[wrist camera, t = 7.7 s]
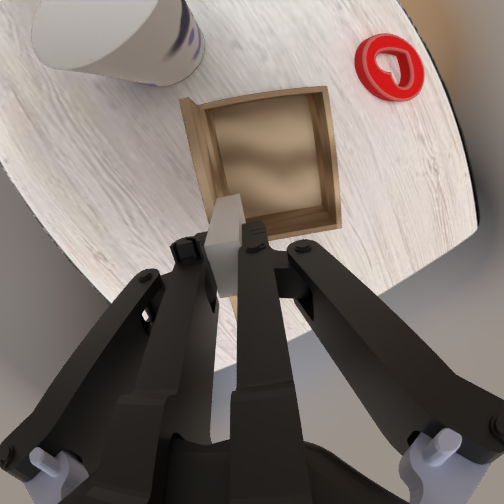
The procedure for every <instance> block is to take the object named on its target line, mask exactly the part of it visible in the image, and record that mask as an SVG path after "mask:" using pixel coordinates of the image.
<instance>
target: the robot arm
mask: <svg viewBox="0 0 504 504" xmlns="http://www.w3.org/2000/svg"><path fill="white" fill-rule="evenodd" d="M170 249H171V252H172V254H173V257H174V260H175V266H174V268H173V271H172V272H170V273H167V274H164V275H160V273H159V271H158V270H157V269H145V270H143V271H141V272H140V273H138V274H137V275H136V276H135V277H134V278H133V279H132V280H131V281H130V282H129V283H128V285H127V286H126V287H125V288H124V289H123V291H122V292H121V293H120V294H119V295H118V296H117V298H116V299H115V300H114V301H113V303H112V304H111V305H110V306H109V308H108V309H107V310H106V311H105V312H104V314H103V315H102V316H101V317H100V319H99V320H98V321H97V322H96V324H95V325H94V326H93V328H92V329H91V330H90V331H89V333H88V334H87V335H86V337H85V338H84V339H83V341H82V342H81V343H80V345H79V346H78V347H77V349H76V350H75V351H74V353H73V354H72V355H71V357H70V358H69V360H68V361H67V362H66V364H65V365H64V366H63V368H62V369H61V371H60V372H59V374H58V375H57V376H56V378H55V379H54V381H53V382H52V384H51V385H50V387H49V388H48V390H47V391H46V393H45V394H44V396H43V397H42V399H41V400H40V402H39V403H38V405H37V406H36V408H35V410H34V411H33V413H32V414H31V415H29V417H27V418H26V419H25V420H24V421H23V422H22V423H21V424H20V425H19V426H18V427H17V428H16V429H15V430H14V431H13V432H12V433H11V434H10V435H9V436H8V437H7V438H6V439H5V440H4V441H3V442H2V443H1V445H0V467H1V468H2V469H3V470H4V471H6V472H8V473H9V474H11V475H12V476H14V477H15V478H17V479H19V480H20V481H22V482H23V483H24V485H25V487H26V489H27V490H28V492H29V494H30V496H31V498H32V500H33V501H34V503H35V504H466V503H467V502H468V500H469V499H470V497H471V496H472V494H473V493H474V491H475V489H476V488H477V486H478V485H479V483H480V481H481V480H482V478H483V476H484V474H485V473H486V471H487V469H488V467H489V466H490V464H491V463H492V462H493V461H494V460H495V459H497V458H498V457H500V456H501V455H502V454H504V400H503V399H501V398H499V397H497V396H495V395H493V394H491V393H489V392H488V391H486V390H484V389H482V388H480V387H478V386H476V385H474V384H473V383H471V382H469V381H466V380H465V379H463V378H461V377H459V376H458V375H456V374H455V373H454V372H453V371H452V370H451V369H450V368H449V367H448V366H447V365H446V364H445V363H444V362H443V361H442V359H440V358H439V356H438V355H437V354H436V353H435V352H434V351H433V350H432V349H431V348H430V347H429V346H428V345H427V344H426V343H425V342H424V341H423V340H422V339H421V338H420V337H419V336H418V335H417V334H416V333H415V332H414V331H413V330H412V329H411V328H410V327H409V326H408V325H407V324H406V323H405V322H404V321H403V320H402V319H400V318H399V317H398V315H396V314H395V313H394V312H393V311H392V310H391V309H390V308H389V307H388V306H387V305H386V304H385V303H384V302H383V301H382V300H381V299H380V298H379V297H378V296H376V295H375V294H374V293H373V292H372V291H371V290H370V289H369V288H368V287H367V286H366V285H365V284H363V283H362V282H361V281H360V280H359V279H358V278H357V277H356V276H355V275H354V274H352V273H351V272H350V271H349V270H348V269H347V268H346V267H345V266H344V265H342V264H341V263H340V262H339V261H338V260H337V259H336V258H335V257H333V256H332V255H331V254H330V253H329V252H328V251H327V250H325V249H324V248H323V247H322V246H321V245H320V244H318V243H317V242H315V241H313V240H308V239H305V240H304V239H303V240H299V241H295V242H293V243H291V244H290V245H289V246H288V247H287V251H277V250H274V249H272V248H271V247H270V246H269V243H268V237H267V232H266V227H265V223H263V222H262V221H255V222H249V223H246V221H245V216H244V212H243V207H242V202H241V198H240V194H235V195H230V196H226V197H221V198H217V199H216V203H215V206H214V210H213V214H212V217H211V221H210V225H209V229H208V231H207V232H202V233H197V234H196V235H195V236H194V237H193V236H191V237H185V238H181V239H179V240H177V241H175V242H174V243H172V244H171V246H170ZM217 290H218V294H219V297H220V298H224V297H230V296H236V295H237V388H236V391H232V394H231V404H230V439H229V440H225V441H221V442H218V443H214V444H212V442H211V438H210V421H211V420H210V419H211V404H212V389H213V374H214V361H215V348H216V336H217V324H218V313H219V302H218V299H217V296H216V295H217ZM279 298H293V299H294V303H295V305H296V306H297V308H298V309H299V310H300V312H301V313H302V315H303V316H304V318H305V319H306V321H307V322H308V324H309V325H310V327H311V328H312V330H313V331H314V332H315V334H316V336H317V337H318V338H319V340H320V341H321V343H322V344H323V345H324V347H325V349H326V350H327V352H328V353H329V355H330V356H331V358H332V359H333V360H334V362H335V364H336V365H337V366H338V368H339V370H340V371H341V372H342V374H343V375H344V377H345V378H346V380H347V381H348V383H349V384H350V386H351V387H352V389H353V390H354V392H355V393H356V395H357V396H358V397H359V399H360V401H361V402H362V404H363V405H364V407H365V408H366V410H367V411H368V413H369V414H370V416H371V417H372V419H373V420H374V422H375V423H376V425H377V426H378V428H379V429H380V431H381V432H382V434H383V435H384V436H385V437H386V439H387V440H388V441H389V443H390V444H391V445H392V446H393V447H394V448H395V449H396V450H397V451H398V452H399V453H400V454H401V455H402V456H403V457H402V458H401V461H400V464H399V473H400V477H401V479H402V480H403V481H404V482H405V484H406V485H407V486H408V488H409V491H410V502H409V503H408V502H406V501H405V500H403V499H401V498H399V497H398V496H396V495H394V494H393V493H391V492H389V491H388V490H386V489H384V488H383V487H381V486H380V485H378V484H377V483H375V482H373V481H372V480H370V479H369V478H367V477H366V476H364V475H363V474H361V473H360V472H358V471H357V470H356V469H354V468H353V467H351V466H350V465H348V464H347V463H345V462H344V461H343V460H341V459H340V458H338V457H337V456H336V455H335V454H333V453H332V452H330V451H328V450H326V449H324V448H323V447H320V446H318V445H316V444H313V443H309V442H306V441H303V435H302V428H301V422H300V416H299V410H298V404H297V397H296V392H295V385H294V381H293V375H292V369H291V364H290V357H289V352H288V346H287V340H286V334H285V328H284V323H283V317H282V311H281V306H280V300H279ZM144 310H145V311H146V313H147V315H148V317H149V318H148V319H147V320H146V321H145V320H144V318H143V316H142V313H143V311H144Z"/></svg>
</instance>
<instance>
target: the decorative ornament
mask: <svg viewBox="0 0 504 504" xmlns="http://www.w3.org/2000/svg"><path fill="white" fill-rule="evenodd" d="M378 53H387V54H392V55H395V56H396V57H397V59H398V63H399V67H400V72H401V80H400V83H399V85H397V84H396V83H395V82H394V80H393V78H392V75H391V72H385V71H383V70H382V69H380V68H379V66H378V65H377V63H376V56H377V54H378ZM355 69H356V73H357V75H358V77H359V79H360V81H361V82H362V84H363V85H364V86H365V88H366V89H367V90H368V91H369V92H370V93H372V94H373V95H374V96H376V97H378V98H380V99H383V100H386V101H408V100H411V99H413V98H414V97H415V96H417V95H418V94H419V92H420V91H421V89H422V86H423V83H424V67H423V64H422V61H421V59H420V57H419V55H418V53H417V52H416V50H415V49H414V48H413V47H412V46H411V45H410V44H409V43H408V42H407V41H405V40H404V39H402V38H400V37H398V36H396V35H393V34H386V33H384V34H378V35H375V36H373V37H370V38H368V39H366V40H365V41H363V42H362V43H361V44H360V46H359V47H358V49H357V51H356V54H355Z"/></svg>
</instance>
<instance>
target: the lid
mask: <svg viewBox="0 0 504 504" xmlns="http://www.w3.org/2000/svg"><path fill="white" fill-rule="evenodd" d="M179 102H180V107H181V111H182V116H183V120H184V125H185V129H186V133H187V138H188V142H189V146H190V150H191V155H192V159H193V163H194V167H195V171H196V175H197V179H198V183H199V187H200V191H201V195H202V199H203V203H204V207H205V211H206V214H207V218H208V222H209V225H210V221H211V217H212V214H213V210H214V206H215V203H216V199H217V198H220V197H219V193H218V188H217V184H216V180H215V175H214V171H213V167H212V162H211V158H210V153H209V149H208V145H207V140H206V136H205V131H204V127H203V122H202V117H201V113H200V108H199V106H197V105H196V104H195V103H194V102H193V101H192V100H191V99H190V98H189V97H187V98H183V99H179ZM229 298H230V301H231V304H232V308H233V311H234V314H235V318H236V321H237V295H236V296H230V297H229Z"/></svg>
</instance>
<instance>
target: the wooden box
mask: <svg viewBox="0 0 504 504" xmlns="http://www.w3.org/2000/svg"><path fill="white" fill-rule="evenodd" d="M197 106H199V108H200V113H201V117H202V122H203V127H204V131H205V136H206V140H207V145H208V149H209V153H210V158H211V162H212V167H213V171H214V175H215V180H216V184H217V188H218V193H219V197H220V198H221V197H226V196H230V195H235V194H240V198H241V202H242V207H243V212H244V216H245V221H246V223H249V222H255V221H262V222H263V223H265V227H266V232H267V237H268V241H271V240H277V239H282V238H288V237H294V236H299V235H305V234H311V233H316V232H322V231H328V230H334V229H339V228H342V219H341V201H340V187H339V175H338V164H337V154H336V145H335V137H334V129H333V121H332V114H331V107H330V101H329V95H328V89H327V86H317V87H305V88H294V89H285V90H277V91H270V92H263V93H256V94H250V95H244V96H239V97H233V98H228V99H223V100H219V101H214V102H210V103H205V104H201V105H197Z"/></svg>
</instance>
